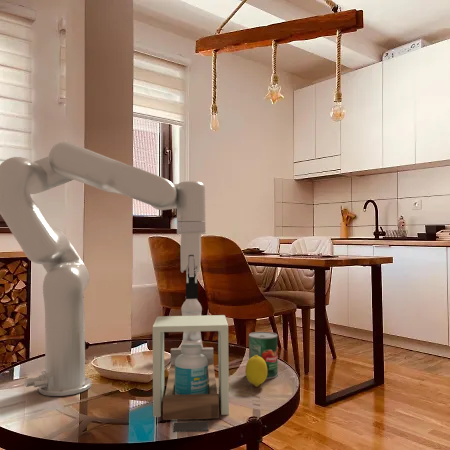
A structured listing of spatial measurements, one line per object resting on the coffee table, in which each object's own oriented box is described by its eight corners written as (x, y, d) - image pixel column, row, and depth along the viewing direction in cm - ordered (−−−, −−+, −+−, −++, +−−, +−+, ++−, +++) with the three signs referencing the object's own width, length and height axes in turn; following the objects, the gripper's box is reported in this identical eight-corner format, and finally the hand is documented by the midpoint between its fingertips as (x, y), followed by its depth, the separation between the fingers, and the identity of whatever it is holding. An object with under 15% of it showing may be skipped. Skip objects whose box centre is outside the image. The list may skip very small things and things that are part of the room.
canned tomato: (252, 369, 133) (252, 330, 133) (279, 371, 131) (279, 332, 131) (246, 378, 126) (245, 337, 126) (275, 380, 123) (274, 338, 124)
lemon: (266, 390, 115) (265, 358, 116) (244, 389, 117) (243, 357, 117) (268, 383, 121) (268, 352, 121) (247, 382, 122) (247, 351, 122)
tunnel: (228, 414, 101) (228, 325, 101) (153, 416, 100) (152, 326, 100) (225, 394, 113) (224, 315, 113) (157, 396, 112) (157, 316, 112)
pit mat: (208, 431, 92) (208, 429, 92) (172, 432, 92) (172, 430, 92) (207, 422, 96) (207, 421, 96) (173, 423, 96) (173, 422, 96)
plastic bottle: (202, 357, 147) (201, 293, 147) (180, 357, 147) (180, 293, 147) (203, 351, 153) (202, 290, 153) (182, 351, 153) (182, 290, 153)
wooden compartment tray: (218, 418, 98) (218, 385, 98) (162, 419, 97) (162, 386, 97) (213, 371, 130) (213, 347, 130) (171, 373, 129) (170, 348, 129)
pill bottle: (195, 414, 101) (194, 351, 101) (168, 407, 105) (167, 347, 105) (214, 403, 107) (213, 344, 108) (188, 397, 111) (187, 340, 111)
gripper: (178, 229, 130) (178, 294, 130) (175, 228, 115) (176, 303, 115) (204, 228, 131) (205, 294, 131) (206, 228, 116) (207, 302, 116)
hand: (192, 298), depth 123 cm, fingers closed
